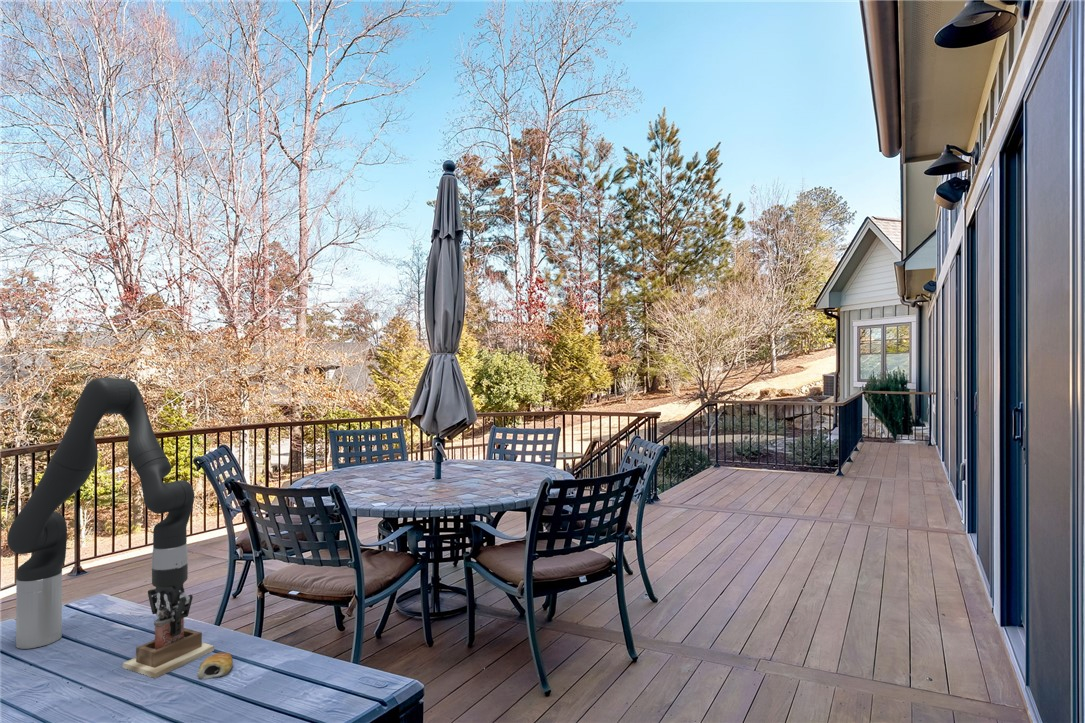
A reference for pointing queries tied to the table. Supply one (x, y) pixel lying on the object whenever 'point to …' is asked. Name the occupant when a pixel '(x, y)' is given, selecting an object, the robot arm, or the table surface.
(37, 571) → the robot arm
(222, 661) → the pastry
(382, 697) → the table surface
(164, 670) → the wooden box with base
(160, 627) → the lighter
